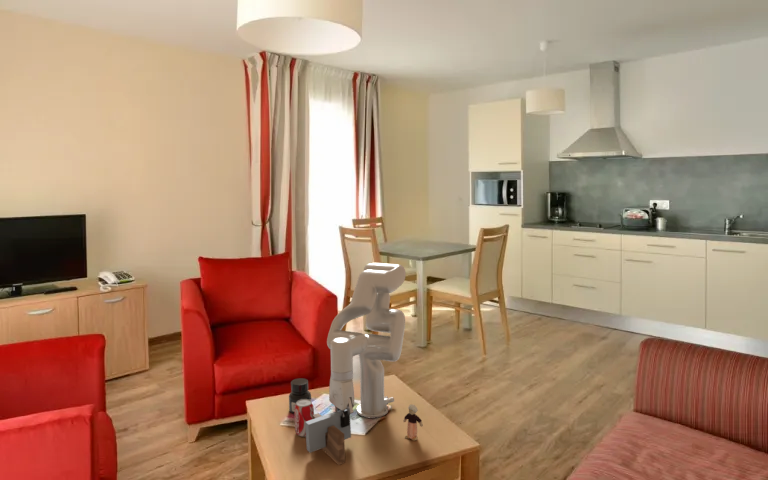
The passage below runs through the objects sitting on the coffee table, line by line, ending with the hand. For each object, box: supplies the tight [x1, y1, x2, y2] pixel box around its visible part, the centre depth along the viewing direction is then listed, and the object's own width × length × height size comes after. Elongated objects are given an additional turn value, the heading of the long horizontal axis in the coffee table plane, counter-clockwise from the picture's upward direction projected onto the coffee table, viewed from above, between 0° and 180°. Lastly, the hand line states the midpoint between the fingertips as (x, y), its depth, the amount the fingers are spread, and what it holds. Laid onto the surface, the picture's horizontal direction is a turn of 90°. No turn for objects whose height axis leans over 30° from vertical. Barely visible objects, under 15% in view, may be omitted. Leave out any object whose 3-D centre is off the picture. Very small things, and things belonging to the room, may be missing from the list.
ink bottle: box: [288, 377, 312, 415], centre depth 208 cm, size 10×9×12 cm
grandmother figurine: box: [403, 404, 423, 441], centre depth 185 cm, size 8×4×13 cm, turn 70°
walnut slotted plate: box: [312, 412, 346, 465], centre depth 177 cm, size 2×18×10 cm, turn 35°
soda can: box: [294, 399, 315, 438], centre depth 189 cm, size 7×7×12 cm
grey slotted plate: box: [305, 409, 352, 454], centre depth 177 cm, size 16×2×10 cm, turn 125°
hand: (342, 424), depth 180 cm, fingers closed on grey slotted plate, 2 cm apart
